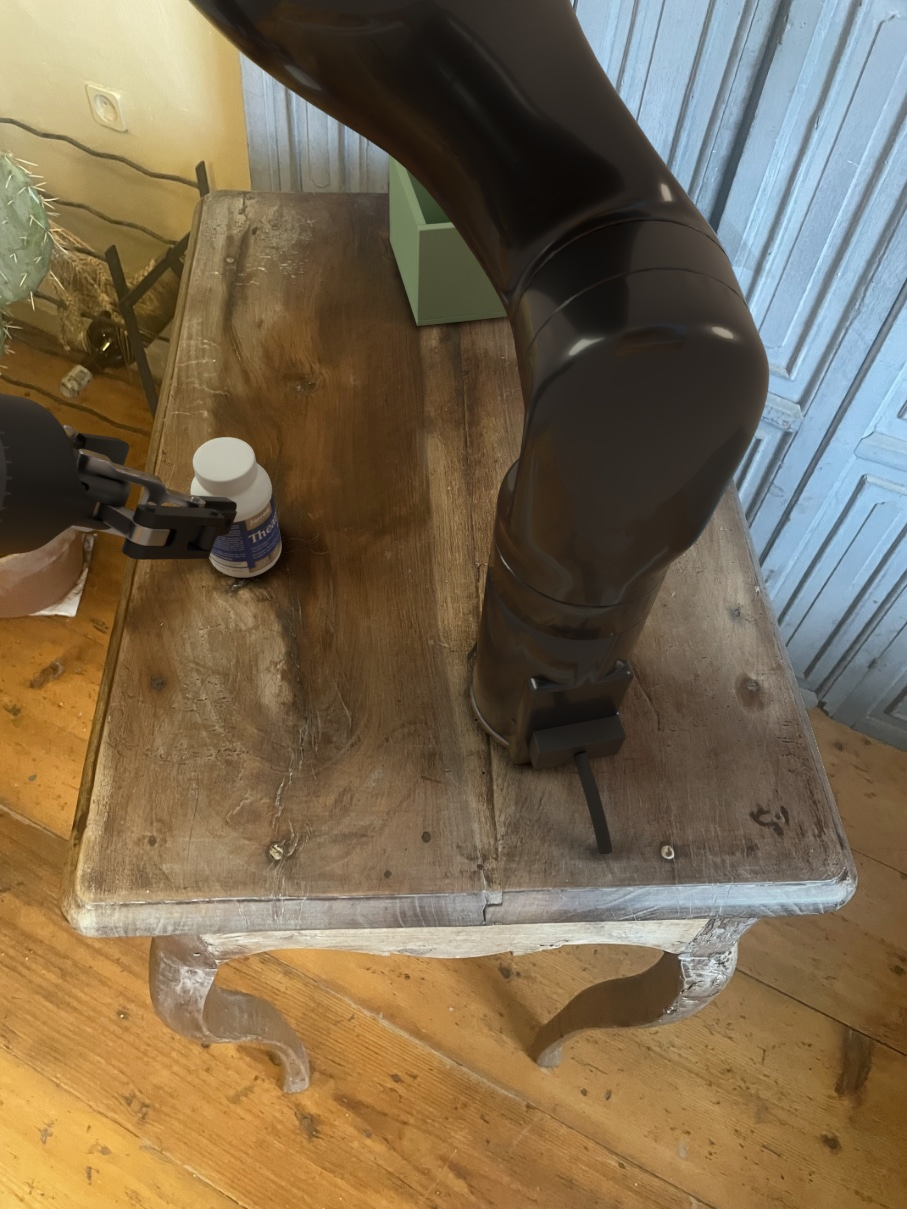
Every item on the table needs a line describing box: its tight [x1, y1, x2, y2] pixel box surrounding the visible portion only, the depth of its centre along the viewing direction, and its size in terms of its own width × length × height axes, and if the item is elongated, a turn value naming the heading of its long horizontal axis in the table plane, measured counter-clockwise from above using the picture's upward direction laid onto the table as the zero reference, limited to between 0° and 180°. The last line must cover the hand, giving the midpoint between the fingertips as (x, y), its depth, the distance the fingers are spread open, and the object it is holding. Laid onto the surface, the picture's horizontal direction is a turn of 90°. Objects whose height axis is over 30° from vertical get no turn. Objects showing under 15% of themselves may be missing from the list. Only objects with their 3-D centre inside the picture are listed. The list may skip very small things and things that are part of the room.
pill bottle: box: [190, 436, 283, 578], centre depth 60 cm, size 5×5×10 cm
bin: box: [388, 154, 508, 327], centre depth 80 cm, size 14×13×10 cm
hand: (173, 486), depth 53 cm, fingers open, 8 cm apart
